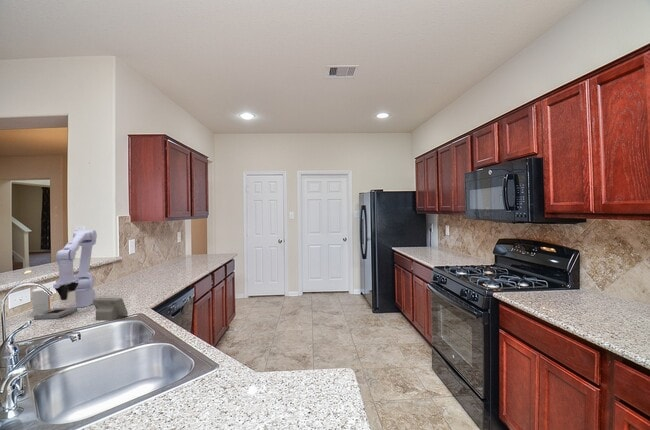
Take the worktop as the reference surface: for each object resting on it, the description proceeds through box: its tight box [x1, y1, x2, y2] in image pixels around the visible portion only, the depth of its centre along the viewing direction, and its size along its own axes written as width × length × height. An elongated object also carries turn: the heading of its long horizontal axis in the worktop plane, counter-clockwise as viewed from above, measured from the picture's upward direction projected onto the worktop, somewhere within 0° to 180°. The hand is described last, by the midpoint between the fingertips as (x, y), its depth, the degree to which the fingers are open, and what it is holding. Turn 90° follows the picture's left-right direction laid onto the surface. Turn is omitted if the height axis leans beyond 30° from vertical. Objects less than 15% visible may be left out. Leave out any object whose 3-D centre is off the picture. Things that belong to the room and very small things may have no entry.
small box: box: [31, 286, 51, 317], centre depth 159 cm, size 8×6×13 cm
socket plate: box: [33, 306, 78, 321], centre depth 155 cm, size 12×12×3 cm
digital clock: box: [93, 296, 129, 321], centre depth 149 cm, size 16×9×11 cm, turn 71°
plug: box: [59, 290, 75, 305], centre depth 154 cm, size 4×4×6 cm
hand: (67, 298), depth 154 cm, fingers closed on plug, 4 cm apart
